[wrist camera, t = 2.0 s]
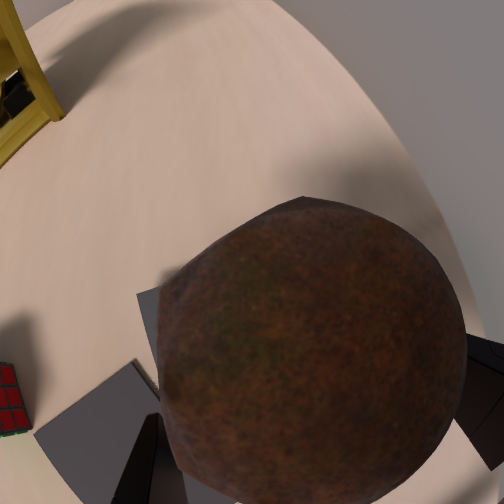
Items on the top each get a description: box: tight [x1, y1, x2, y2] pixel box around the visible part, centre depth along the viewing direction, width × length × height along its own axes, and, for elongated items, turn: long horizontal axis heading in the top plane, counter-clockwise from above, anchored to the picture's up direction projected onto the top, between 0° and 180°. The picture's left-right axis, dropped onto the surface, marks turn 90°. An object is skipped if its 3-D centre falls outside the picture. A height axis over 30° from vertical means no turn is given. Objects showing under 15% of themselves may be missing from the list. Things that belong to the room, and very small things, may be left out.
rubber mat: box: [33, 363, 237, 504], centre depth 14 cm, size 12×12×1 cm
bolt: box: [156, 196, 468, 504], centre depth 11 cm, size 6×5×15 cm
